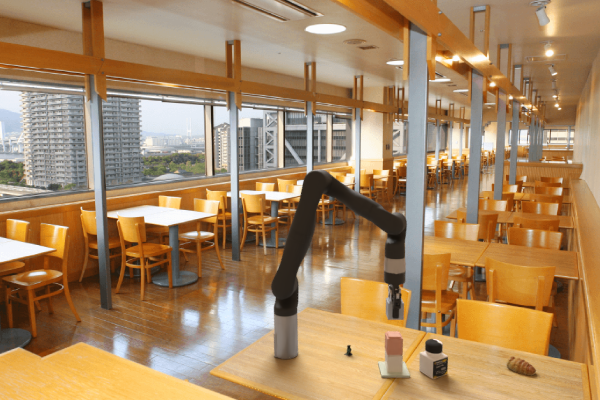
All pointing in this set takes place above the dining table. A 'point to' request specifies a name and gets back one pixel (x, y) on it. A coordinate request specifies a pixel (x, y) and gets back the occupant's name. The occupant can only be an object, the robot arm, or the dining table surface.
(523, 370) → the pastry
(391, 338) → the brick terracotta
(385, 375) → the tower base
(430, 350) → the medicine bottle
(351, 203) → the robot arm
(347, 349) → the sculpture
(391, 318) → the grey block
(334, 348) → the dining table surface
